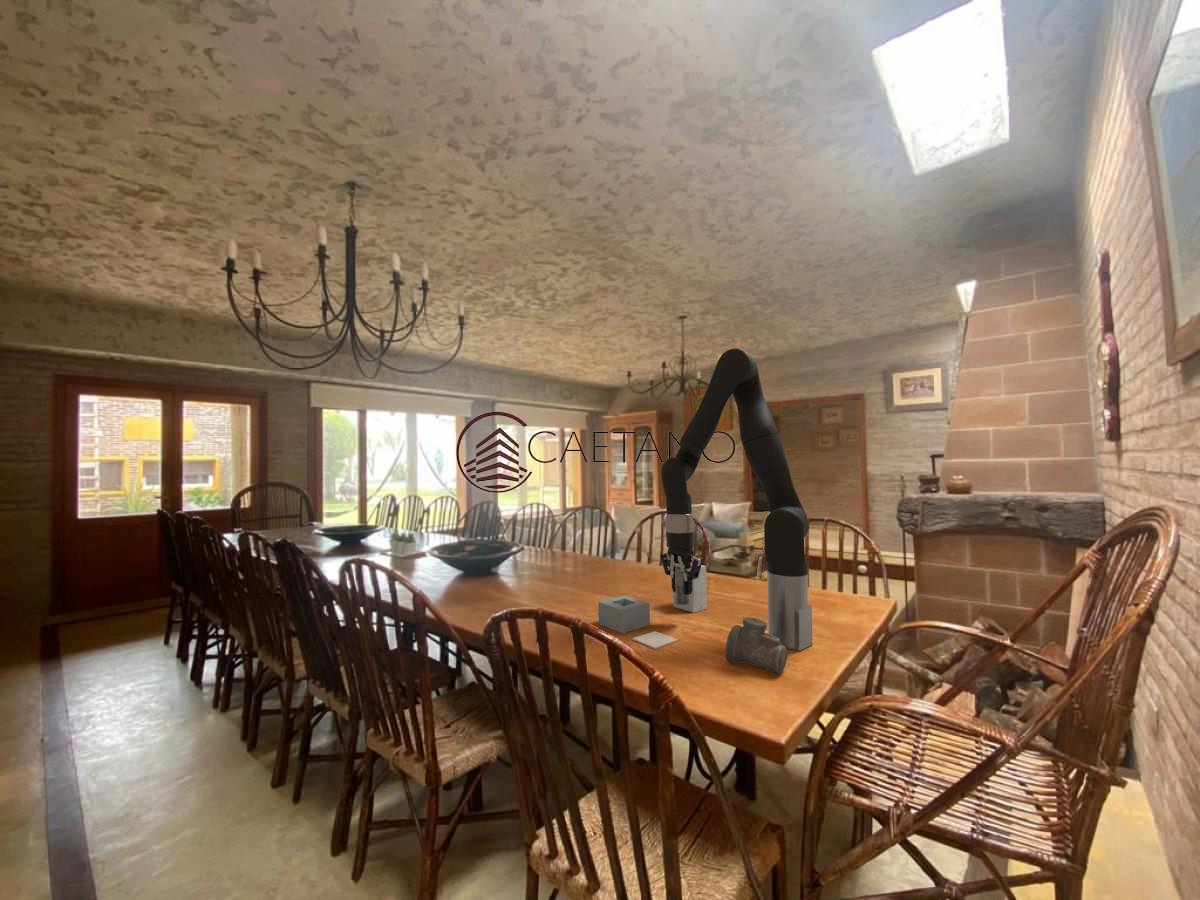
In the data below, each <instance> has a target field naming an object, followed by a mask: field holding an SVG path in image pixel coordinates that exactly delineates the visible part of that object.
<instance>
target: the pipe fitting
mask: <svg viewBox="0 0 1200 900" xmlns="http://www.w3.org/2000/svg"><path fill="white" fill-rule="evenodd" d="M767 626H768V624H767V622H765V621H764V620H762V619H758V618H756V617H750V616H747V617H743V619H742V626H741V625H739V624H735V625H733V626H732V627H731V629H730V631H729V633H728V635H727V640H726V644H725V651H724V652H725V653H724V654H725V659H726V661H727V662H730V663H732V664H734V665H736V664H740V663H743V662H744V663H748V664H750V665H752V666H756V667H758V668H760V669H764V670H766V671H769V672H772V673H774V674H777V675H780V674H781V673H782V672H783V671H785V670H784V669H785V667H786V665H787V661H788V649H787V648H785V646H784V645H781V644H780V640H779V638H778V637H776V636H774V635H770V634H769V633H767V632H766V631H767Z"/></svg>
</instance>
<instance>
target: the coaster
mask: <svg viewBox="0 0 1200 900" xmlns="http://www.w3.org/2000/svg"><path fill="white" fill-rule="evenodd" d="M632 641H635V642H637V643H639V644H641V645H644V646H646V647H649V648H650V649H653V650H659V649H660V648H664V647H667V646H670V645H672V644H675V643H677V642H679V639H677V638H675V637H673V636H669V635H666V634H664V633H661V632H659V631H656V630H655V631H651V632H648V633H645V634H643V635H639V636H635V637H633V638H632Z"/></svg>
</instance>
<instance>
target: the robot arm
mask: <svg viewBox="0 0 1200 900" xmlns="http://www.w3.org/2000/svg"><path fill="white" fill-rule="evenodd" d="M731 395H732V397H733V399H734V402H735V405H736V408H737V414H738V427H739V429H738V430H739V435H740V440H741V444H742V448H743V450H744V454H745V457H746V459H747V462H748V464H749V466H750V468H751V470H752V472H753V473H754V475H755V477H756V478H757V481H758V482H759V483H760V485H761V487H762V489H763V491H764V494H765V496H766V499H767V504H768V508H769V513H768V515H767V516H766V518H765V520H764V526H763V529H764V530H763V536H764V537H763V538H764V539H763V540H764V555H765V556H764V557H765V561H766V564H767V614H768V615H767V620H768V624H767V626H768V630H767V631H768V633H767V634H770V635H774V636H776V637H778V638H779V640H780V644H781V645H784V646H785V648H786V650H796V651H799V652H800V651H802V650H804V649H806V648H808V647H810V646H812V645H813V606H812V605H811V604H809V579H808V578H809V577H808V572H809V570H808V567H809V566H808V563H807V560H806V553H805V552H806V551H805V537H806V536H807V535H808V532H809V531H810V522H809V519H808V516H807V513H806V511H805V509H804V508H803V507H804V506H803V505H802V503H801V501H800V498H799V496H798V493H797V491H796V489H795V487H794V483H793V480H792V477H791V472H790V468H789V463H788V460H787V458H786V453H785V449H784V447H783V444H782V440H781V438H780V437H781V436H780V434H779V431H778V429H777V426H776V423H775V421H774V418H773V416H772V413H771V411H770V409H769V406H768V404H767V402H766V399H765V396H764V392H763V389H762V384H761V379H760V374H759V368H758V364H757V362H756V360H755V359H754V358H753V356H752V355H750V353H749V352H747V351H746V350H744V349H741V348H739V347H738V348H737V347H736V348H734V347H733V348H730V349H727V350H725V352H723V353H722V354H721V356H719V358H718V359H717V362H716V365H715V367H714V370H713V373H712V375H711V378H710V381H709V383H708V386H707V388H706V390H705V393H704V395H703V397H702V399H701V402H700V404H699V406H698V408H697V410H696V412H695V413H694V415H693V417H692V419H691V420H690V422H689V424H688V426H687V427H686V429H685V431H684V432H683V434H682V436H681V438H680V441H679V449H678V451H677V454H676V455H675V456H674V457H670V458H668V459H666V460H665V461H664V462H663V464H662V467H661V471H660V472H661V475H660V476H661V481H662V482H661V483H662V486H663V487H662V488H663V491H664V494H665V509H666V510H665V511H666V512H665V513H666V514H665V515H666V516H665V538H666V539H665V541H666V547H667V548H668V549H667V552H665V553H660V555H659V556H660V559H661V564H662V566H663V569H664V573H665V575H666V576H669V578H670V579H671V589H672V593H673V592H675V567H674V563H680V568H681V572H682V573H683V577H684V580H685V581H684V594H685V595H689V594H691V593H692V580H693V579H697V578H698V576H699V573H700V569H701V565H703V561H704V560H703V558H701V557H697V556H695V553H694V550H693V549H694V547H695V535H694V533H695V531H694V530H695V529H694V519H693V508H692V507H693V505H692V495H691V494H690V493H689V491H688V486H687V481H689V479H691V477H692V476H693V475H694V473H695V471H696V469H697V467H698V465H699V462H700V460H701V457H702V454H703V452H705V449H706V448H707V446H708V445H709V443H710V442H711V439H712V438H713V436H714V434H715V432H716V430H717V427H718V425H719V421H720V419H721V417H722V414H723V411H724V409H725V406H726V403H727V402H728V401H729V399H730V396H731ZM685 567H688V569H685ZM687 572H688V574H687Z"/></svg>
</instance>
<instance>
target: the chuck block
mask: <svg viewBox="0 0 1200 900" xmlns="http://www.w3.org/2000/svg"><path fill="white" fill-rule="evenodd" d="M650 608H651V604H650V602H648V601H645V600H641V599H638V598H635V597H633V596H630V595H621V596H615V597H613V598H608V599H604V600H601V601H598V609H597V610H598V624H599V625H601V626H603V627H605V628H608V629H611V630H613V631H615V632H618V633H620V634H626V633H628V632H632V631H635V630H638V629H642V628H644V627H647V626H650V625H651V613H650V612H651V609H650Z"/></svg>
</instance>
